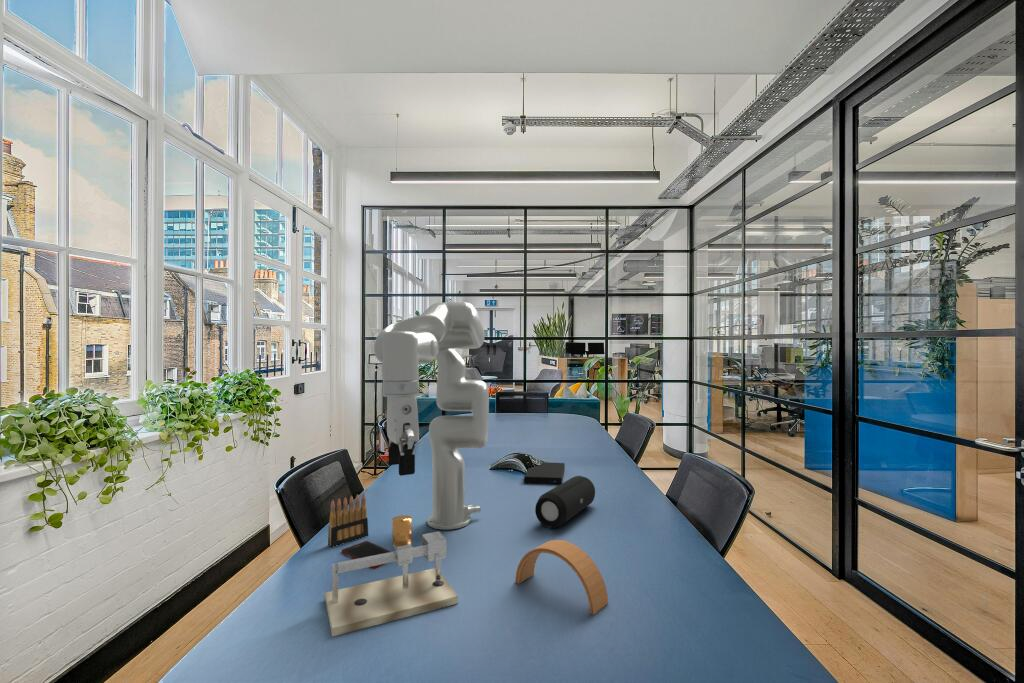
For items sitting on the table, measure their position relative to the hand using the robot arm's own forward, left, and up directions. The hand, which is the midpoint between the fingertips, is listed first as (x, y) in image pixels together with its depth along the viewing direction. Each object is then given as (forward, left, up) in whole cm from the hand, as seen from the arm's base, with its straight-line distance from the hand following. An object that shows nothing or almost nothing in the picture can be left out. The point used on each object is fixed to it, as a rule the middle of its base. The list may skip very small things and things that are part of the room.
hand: (401, 469), depth 101 cm
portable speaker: (-56, -22, -27) cm, 66 cm away
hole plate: (+3, +2, -26) cm, 26 cm away
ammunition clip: (+6, -34, -27) cm, 44 cm away
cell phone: (+3, -22, -27) cm, 35 cm away
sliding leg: (0, +1, -24) cm, 24 cm away
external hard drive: (-73, -64, -27) cm, 101 cm away
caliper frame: (+2, 0, -25) cm, 25 cm away
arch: (-30, +15, -27) cm, 43 cm away
